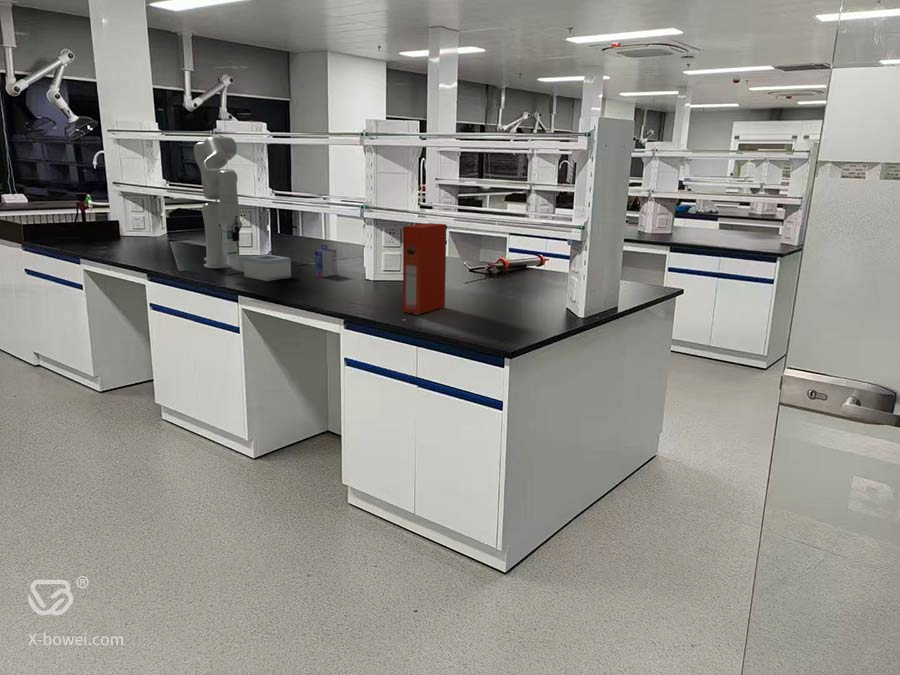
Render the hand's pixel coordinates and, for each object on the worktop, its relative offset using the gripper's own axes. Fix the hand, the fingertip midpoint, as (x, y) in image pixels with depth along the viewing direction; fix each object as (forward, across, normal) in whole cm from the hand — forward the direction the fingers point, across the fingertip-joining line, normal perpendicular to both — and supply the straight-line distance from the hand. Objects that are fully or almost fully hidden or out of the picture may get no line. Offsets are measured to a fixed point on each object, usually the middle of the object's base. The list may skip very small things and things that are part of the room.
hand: (230, 239), depth 304 cm
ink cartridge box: (+18, +23, +36) cm, 47 cm away
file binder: (+16, +103, +8) cm, 105 cm away
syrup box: (+7, 0, 0) cm, 7 cm away
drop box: (+18, +7, +14) cm, 24 cm away
